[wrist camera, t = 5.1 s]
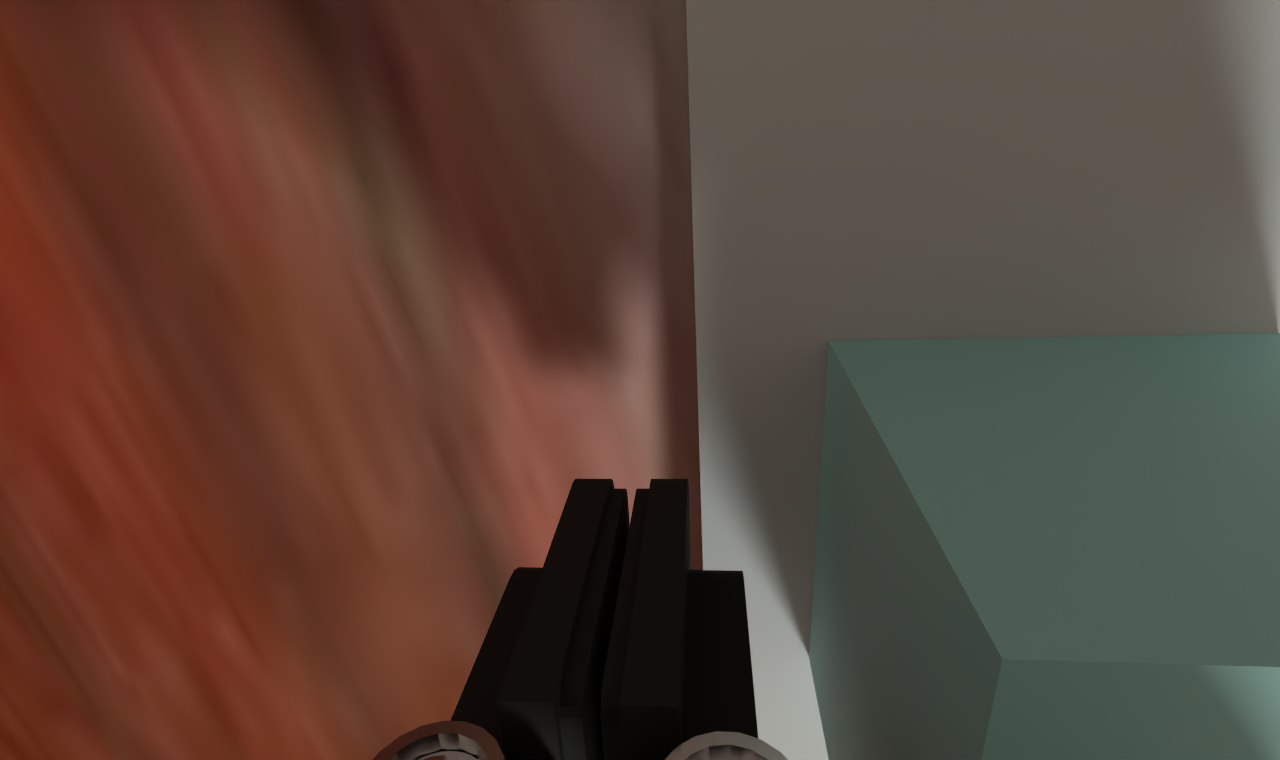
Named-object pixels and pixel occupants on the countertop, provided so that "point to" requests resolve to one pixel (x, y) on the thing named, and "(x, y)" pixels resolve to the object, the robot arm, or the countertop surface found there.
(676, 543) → the robot arm
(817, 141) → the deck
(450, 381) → the countertop surface
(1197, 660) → the teal block
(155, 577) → the countertop surface
